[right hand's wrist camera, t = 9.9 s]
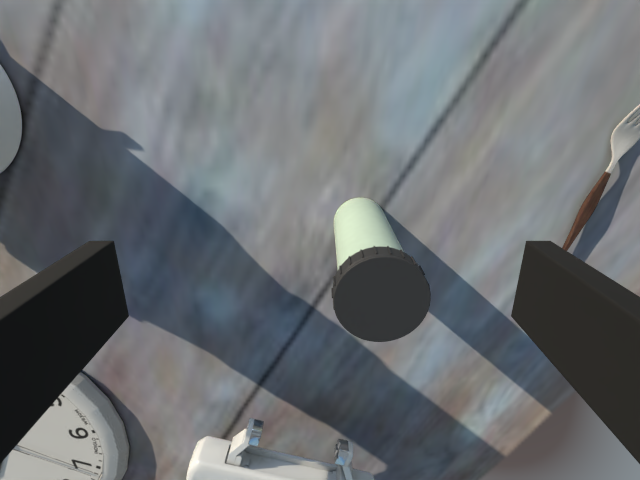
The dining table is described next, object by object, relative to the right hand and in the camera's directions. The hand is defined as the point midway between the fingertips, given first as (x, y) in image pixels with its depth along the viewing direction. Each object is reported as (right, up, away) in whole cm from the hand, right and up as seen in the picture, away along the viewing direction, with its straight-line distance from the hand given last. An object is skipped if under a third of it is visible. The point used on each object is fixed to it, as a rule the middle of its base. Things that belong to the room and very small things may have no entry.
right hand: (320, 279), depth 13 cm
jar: (+4, +3, +26) cm, 26 cm away
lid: (+4, -2, +11) cm, 12 cm away
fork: (+26, +7, +24) cm, 36 cm away
